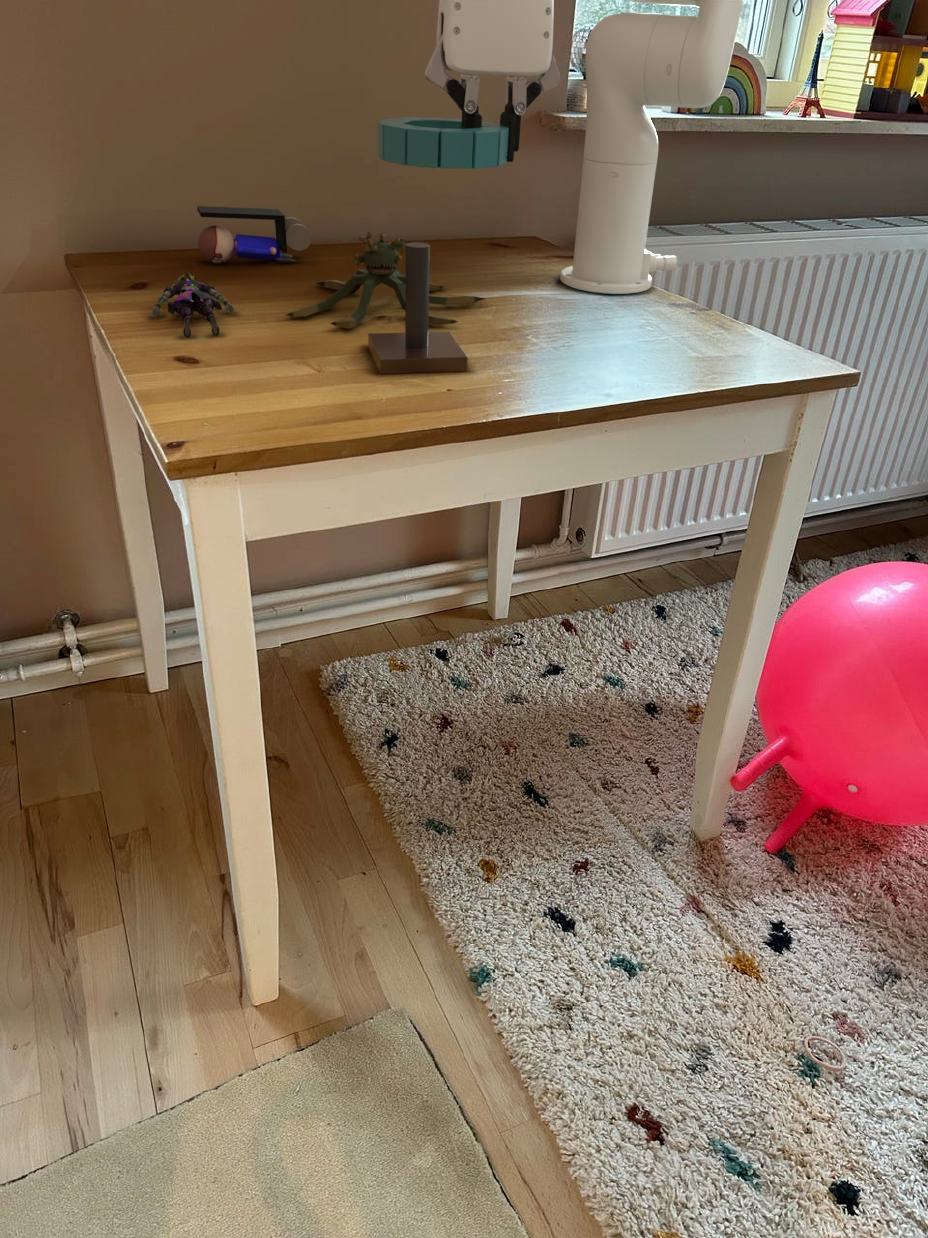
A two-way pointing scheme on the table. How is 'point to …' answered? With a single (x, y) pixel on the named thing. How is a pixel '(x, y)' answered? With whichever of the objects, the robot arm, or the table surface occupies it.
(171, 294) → the character figure
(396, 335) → the stand
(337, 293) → the octopus toy
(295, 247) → the figurine character
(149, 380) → the table surface
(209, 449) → the table surface
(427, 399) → the table surface
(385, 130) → the ring
